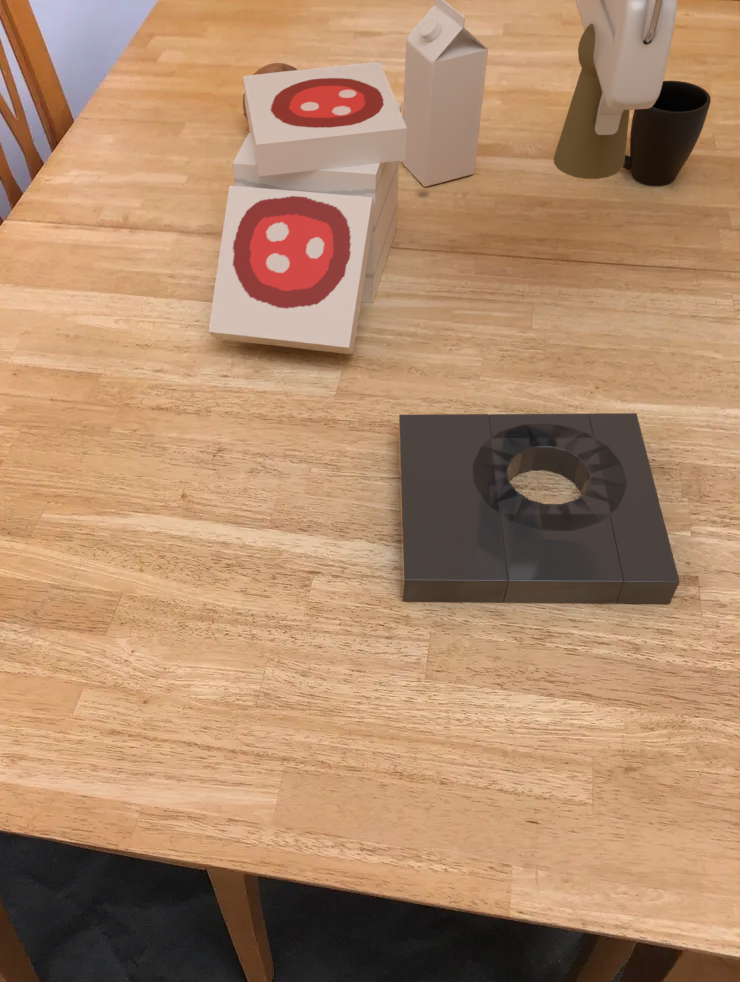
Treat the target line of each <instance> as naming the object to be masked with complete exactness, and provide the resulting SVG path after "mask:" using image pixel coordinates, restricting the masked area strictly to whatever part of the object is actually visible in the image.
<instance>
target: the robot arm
mask: <svg viewBox="0 0 740 982" xmlns="http://www.w3.org/2000/svg"><path fill="white" fill-rule="evenodd" d="M575 5H576V9H577V12H578V15H579V18H580V21H581V24H582V29H583V32H584V31H585V30H586V28H587V27H588V26H589V25H590V24H593V27H594V30H595V48H594V54H593V58H594V65H595V69H596V72H597V75H598V79H599V82H600V85H601V89H602V96H601V100H600V103H599V105H597V106H596V111H595V117H594V121H593V122H594V127H595V131H596V133H597V134H598V135H613V134H615V133H616V132H617V130H618V127H619V123H620V119H621V115H622V113H623V111H624V110H630V111H631V110H633V111H634V110H635V109H648V108H651V107H652V106H653V105H654V104H655V102H656V100H657V99H658V97H659V94H660V91H661V88H662V83H663V81H664V80H665V74H666V69H667V65H668V60H669V55H670V50H671V46H672V40H673V35H674V31H675V25H676V18H677V10H678V0H575Z"/></svg>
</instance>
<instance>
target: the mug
mask: <svg viewBox="0 0 740 982" xmlns="http://www.w3.org/2000/svg"><path fill="white" fill-rule="evenodd" d="M711 101H712V99H711V95H710V93H709V92H708V91H707V90H706V89H704V88H703V87H701V86H699V85H696V84H694V83H690V82H687V81H680V80H663V83H662V88H661V91H660V94H659V97H658V99H657V100H656V102H655V104H654V105H653V106H652V107H651V108H648V109H635V110H633V113H632V117H631V126H630V132H629V133H630V134H629V135H630V136H629V155H628V154H626V153H625V162H624V166H623V168H622V169H624V170H628V171H630V176H631V178H632V179H633V180H634V181H636V182H638V183H639V184H642V185H645V186H650V187H651V186H653V187H662V186H667V185H670V184H671V183H674V182H675V181H676V179H677V177H678V175H679V173H680V172H681V170H682V169H683V167H684V166H685V165H686V162H687V161H688V159H689V158H690V156H691V154H692V152H693V150H694V149H695V146H696V144H697V142H698V140H699V138H700V136H701V133H702V132H703V131H702V130H703V128H704V126H705V122H706V119H707V116H708V112H709V110H710V107H711Z"/></svg>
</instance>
